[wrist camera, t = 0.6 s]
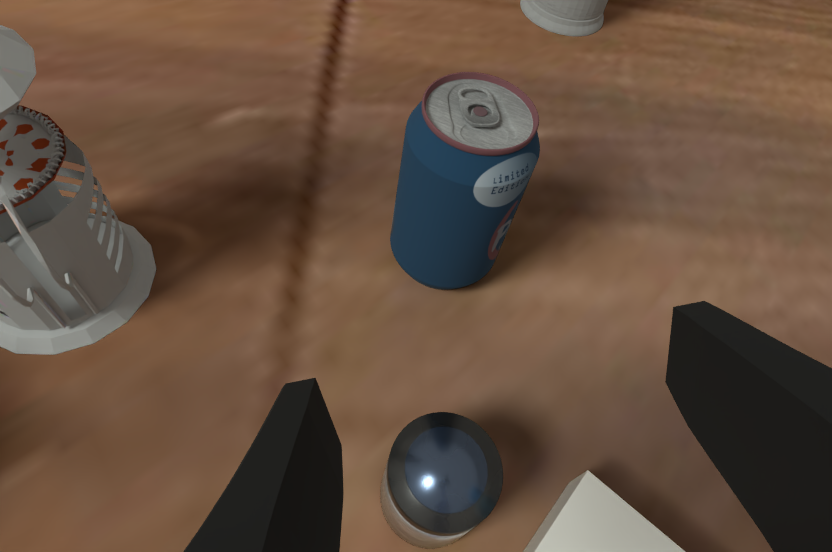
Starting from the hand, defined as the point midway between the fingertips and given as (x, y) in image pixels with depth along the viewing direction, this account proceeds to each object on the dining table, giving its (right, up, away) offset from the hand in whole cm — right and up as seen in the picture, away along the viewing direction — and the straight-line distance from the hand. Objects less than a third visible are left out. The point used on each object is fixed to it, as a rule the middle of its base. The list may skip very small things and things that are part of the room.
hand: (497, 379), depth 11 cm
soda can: (0, +3, +25) cm, 25 cm away
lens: (-1, -9, +16) cm, 19 cm away
